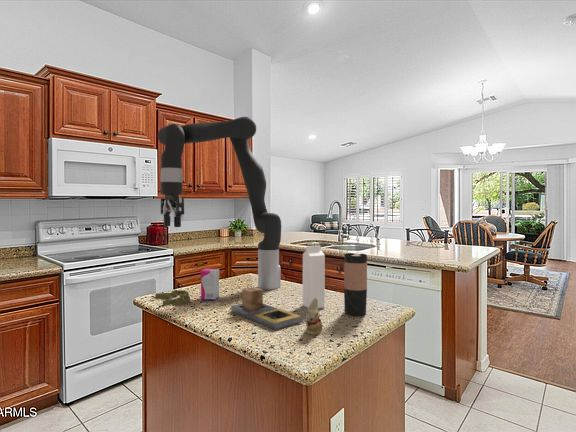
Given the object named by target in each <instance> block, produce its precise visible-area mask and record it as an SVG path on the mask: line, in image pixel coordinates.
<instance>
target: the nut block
mask: <svg viewBox="0 0 576 432" xmlns="http://www.w3.org/2000/svg"><path fill="white" fill-rule="evenodd" d="M263 292H264V289H260V288H258V287H257V286H256V287H255V286H252V287H246V288H242V289H241V297H242V298H241V304H242V308H244V309H246V310H249V311H252V310H256V309H260V308H263V304H264V303H263V300H264V298H263V297H264V295H263V294H264V293H263Z"/></svg>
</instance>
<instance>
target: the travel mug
mask: <svg viewBox="0 0 576 432" xmlns="http://www.w3.org/2000/svg"><path fill="white" fill-rule="evenodd" d="M343 262H344V269H343V270H344V271H343V272H344V273H343V275H344V279H343V282H344V283H343V295H344V296H343V297H344V300H343V301H344V313H345V315H348V316H351V317H362V316H365V315H366V314H367V298H368V296H367V295H368V255H367V254H366V253H360V254H356V253H355V254H354V253H353V252H351V253H344V261H343Z"/></svg>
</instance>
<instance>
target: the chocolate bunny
mask: <svg viewBox="0 0 576 432" xmlns="http://www.w3.org/2000/svg"><path fill="white" fill-rule="evenodd" d="M319 313H320V312H319V308H318V300H317V298H314V299H313V301H312V303H311V305H310V306H309V308H306V312H305V323H306V324H305V325H306V330H305V332H306V334H307V335H308V334H309V335H308V336H319V333H320V334H322V332H321V331H323V323H322V318H320V315H319Z"/></svg>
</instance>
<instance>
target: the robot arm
mask: <svg viewBox="0 0 576 432" xmlns="http://www.w3.org/2000/svg"><path fill="white" fill-rule="evenodd" d="M256 132H257V124H256V122H255V121H254V120H253V119H252V118H251V117H249V116H241V117H238V118H235V119H230V120H227V121H220V122H219V121H216V122H212V121H211V122H198V123H197V122H196V123H188V124H186V125H179V124H178V123H171V124H168V125H165V126H163V127H162V128H160V129H159V130H158V133H157V138H158V141H159V142H160V143H161V144H162V145H164V151H163V152H162V154H161V156H160V168H161V169H160V195H163V196H164V197H161V198H160V214H161V215H162V216H163V226H164V227H170V226H171V213H173V227H174V228H181V226H182V216H183V215H185V200H184V199H185V198H184V197H181V196H182V195H183V194H184V193H183V191H184V190H183V189H184V187H183V185H184V184H183V180H184V179H183V168H182V166H183V162H182V161H183V160H182V155H183V153H184V146H185V144H194V143H195V144H196V143H203V142H204V143H205V142H211V141H216V140H221V139H227V138H229V139H230V142H231V145H232V147H233V150H234V152H235V155H236V159H237V162H238V165H239V168H240V171H241V175H242V179H243V183H244V186H245V189H246V192H247V196H248V200H249V202H250V203H249V204H250V207H251V208H250V209H251V212H252V218H253V223H254V227H255V229H256V231H257V232H259V233H260V234H263V239H262V241H259V242H258V243H257V248H258V249H257V252H258V253H257V258H258V259H257V261H258V262H257V270H258V271H257V275H258V276H257V288H259V289H263V290H266V291H267V290H268V291H269V290H270V291H271V290H278V289H279V288H281V282H282V281H281V279H282V277H281V275H282V273H281V272H282V271H281V265H280V244H281V239H282V220H281V217H280V215H278V214H277V213H274V212H273V213H272V212H268V210H267V206H266V203H265V202H266V201H265V197H266V196H265V195H266V191H267V180H266V175H265V172H264V169H263V166H262V165H261V163H260V162H259V160H258V159H257V158H256V157H255V155H254V154H253V152H252V150H251V148H250V145H249V141H248V140H250V139H252V138H253V137H254V136H255V135H256ZM180 195H181V196H180Z"/></svg>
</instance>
